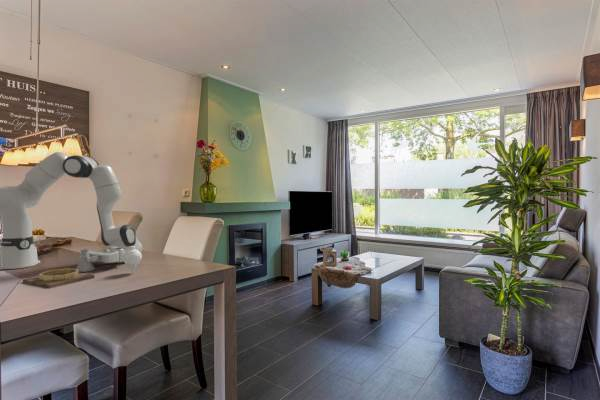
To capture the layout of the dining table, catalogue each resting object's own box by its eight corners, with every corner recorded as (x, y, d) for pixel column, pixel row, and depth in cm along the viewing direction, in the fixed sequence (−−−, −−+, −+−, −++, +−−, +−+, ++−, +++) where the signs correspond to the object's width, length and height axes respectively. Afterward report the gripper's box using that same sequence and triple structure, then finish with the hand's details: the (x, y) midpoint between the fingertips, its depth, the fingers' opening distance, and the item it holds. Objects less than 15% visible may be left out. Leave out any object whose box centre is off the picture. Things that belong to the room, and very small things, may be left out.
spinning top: (118, 274, 150) (118, 247, 149) (134, 270, 156) (133, 244, 156) (130, 276, 146) (130, 248, 146) (145, 272, 153) (145, 245, 153)
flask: (85, 272, 152) (85, 250, 152) (71, 272, 153) (71, 250, 153) (98, 269, 159) (97, 248, 159) (84, 268, 161) (84, 247, 160)
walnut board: (22, 282, 136) (22, 279, 136) (67, 273, 151) (67, 270, 151) (50, 288, 128) (50, 284, 128) (94, 277, 143) (94, 274, 143)
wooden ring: (32, 279, 137) (31, 274, 137) (66, 272, 148) (66, 267, 148) (51, 282, 131) (51, 277, 131) (85, 275, 143) (85, 270, 143)
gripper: (97, 246, 172) (69, 250, 160) (124, 249, 163) (97, 253, 151) (97, 258, 172) (69, 263, 160) (125, 262, 164) (97, 268, 151)
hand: (83, 259), depth 155 cm, fingers closed on flask, 3 cm apart
